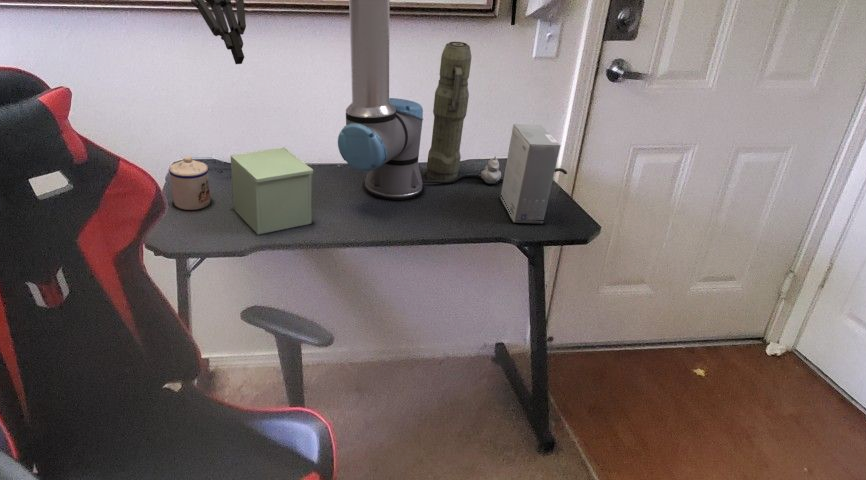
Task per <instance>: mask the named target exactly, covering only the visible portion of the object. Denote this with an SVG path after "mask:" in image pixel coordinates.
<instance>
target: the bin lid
mask: <svg viewBox="0 0 866 480" xmlns="http://www.w3.org/2000/svg"><path fill="white" fill-rule="evenodd" d="M229 157H230V160H231V159H232V160H233V161H234V162H235V163H236V164H237V165H238V166H239V167H240V168H242V169H243V170H244V171H245V172H246V173H247V174H248V175H249V176H250V177H251V178H252V179H253V180H255V181H256V182H257V183H258V182H264V181H269V180H275V179H281V178H287V177H293V176H299V175H305V174H311V173H312V174H314V169H313V168H312V167H310V166H309V165H308V164H306V163H305V162H304V161H302V160H301V159H300V158H299V157H297V156H296V155H295V154H293V153H292V152H290V151H289V150H288V149H287V148H285V147H278V148H277V147H276V148H271V149H270V148H269V149H264V150H257V151H251V152H243V153H236V154H230V156H229Z"/></svg>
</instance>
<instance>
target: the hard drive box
mask: <svg viewBox="0 0 866 480" xmlns="http://www.w3.org/2000/svg"><path fill="white" fill-rule="evenodd" d="M561 146H562V145H561V144H560V143H559V142H558V140H557V139H555V138H554V137H553V135H552V134H551V133H550V132H549V131H548V130H547V129H546V128H545V127H544V126H543V125H542V124H519V123H513V125H512V129H511V136H510V140H509V145H508V153H507V158H506V163H505V167H504V168H505V169H504V174H503V182H502V186H501V192H500V198H499V199H500V201H501V202H502V204H503V206H504V208H505V209H506V212H507V213H508V215H509V217H510V219H511V221H512V222H513V223H515V224H544V221H516V220H545V216H546V212H547V207H548V203H549V199H550V194H551V190H552V186H553V185H552V184H553V180H554V176H555V173H556V172H555V169H556V167H557V162H558V158H559V153H560V149H561ZM501 195H502V197H503V199H504V200H503V199H502V197H501ZM504 201H505V202H504ZM505 203H506V204H505ZM506 205H507V206H506ZM507 207H508V208H507ZM508 209H509V210H508ZM509 211H510V212H509ZM510 213H511V214H510Z"/></svg>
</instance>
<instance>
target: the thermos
mask: <svg viewBox="0 0 866 480" xmlns="http://www.w3.org/2000/svg"><path fill="white" fill-rule="evenodd" d="M471 64H472V50H471V46H470V44H468V43H466V42H462V41H449V42H448V43H445V46H444V48H443V51H442V53H441V58H440V65H439V66H440V67H439V79H438V82H437V83H438V84H437V87H436V89H435V92H434V99H433V108H432V113H433V125H432V135H431V136H432V137H431V144H430V148H429V149H428V154H427V161H426V169H427V170H426V178H427V180H451V179H454V178H456V177H457V176H459V173H458V172H459V171H460V166H461V157H462V155H461V151H460V150H461V143H462V136H463V135H462V134H463V128H464V120H465V118H466V116H467V113H468V105H469V97H470V92H469V87H468V86H469V82H468V81H469V78H470V72H471V66H472V65H471Z"/></svg>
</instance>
